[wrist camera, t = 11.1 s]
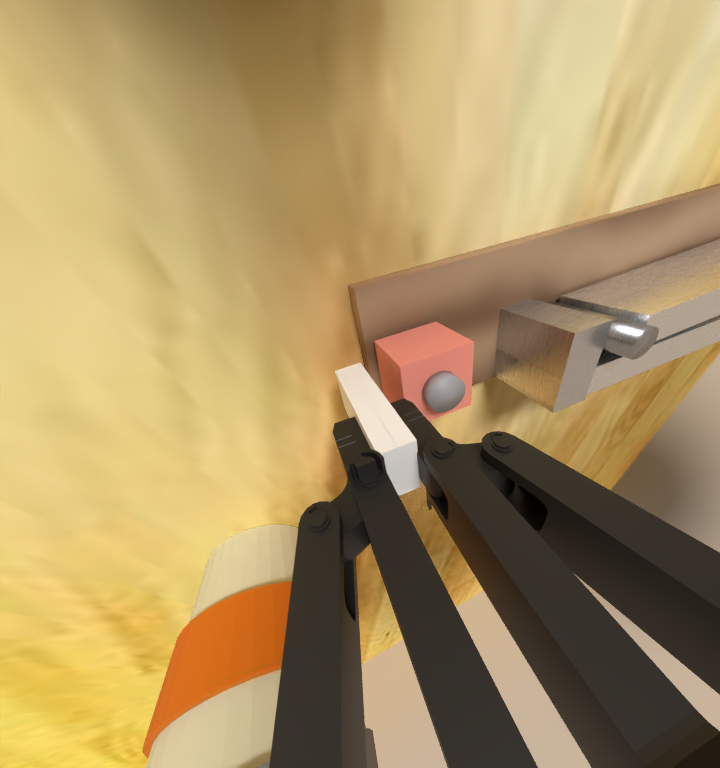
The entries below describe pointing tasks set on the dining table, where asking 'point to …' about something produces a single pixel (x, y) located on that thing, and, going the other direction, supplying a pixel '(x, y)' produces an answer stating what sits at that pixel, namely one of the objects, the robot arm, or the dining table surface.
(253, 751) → the reusable coffee cup
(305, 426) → the dining table surface
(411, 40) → the dining table surface
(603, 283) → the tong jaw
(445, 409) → the tab
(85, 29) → the dining table surface
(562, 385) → the grey long bar
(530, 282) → the board
